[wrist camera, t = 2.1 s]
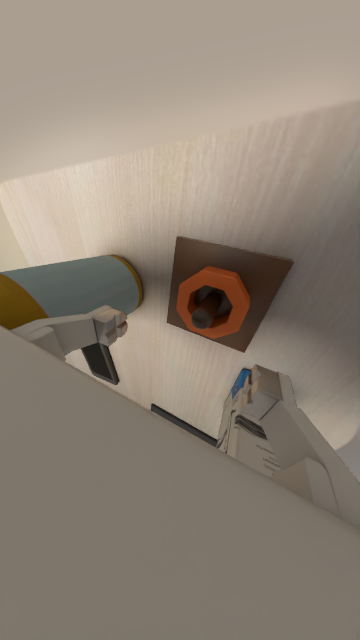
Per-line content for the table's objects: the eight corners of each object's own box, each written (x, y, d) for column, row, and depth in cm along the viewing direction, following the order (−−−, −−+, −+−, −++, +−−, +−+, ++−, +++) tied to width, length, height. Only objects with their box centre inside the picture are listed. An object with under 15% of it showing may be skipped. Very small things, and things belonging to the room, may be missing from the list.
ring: (259, 278, 12) (259, 284, 10) (233, 335, 15) (231, 346, 13) (190, 260, 13) (182, 264, 12) (180, 315, 16) (173, 324, 15)
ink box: (243, 366, 17) (224, 524, 8) (291, 385, 16) (338, 605, 7) (222, 405, 22) (196, 532, 13) (258, 422, 21) (258, 580, 11)
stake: (292, 259, 11) (313, 278, 7) (244, 348, 16) (240, 389, 12) (180, 236, 13) (144, 239, 9) (169, 319, 18) (143, 345, 14)
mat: (218, 441, 27) (218, 443, 27) (203, 461, 34) (203, 463, 33) (152, 403, 31) (151, 405, 30) (150, 427, 38) (149, 429, 37)
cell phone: (95, 372, 35) (92, 375, 34) (72, 321, 28) (68, 323, 28) (119, 383, 32) (117, 386, 32) (101, 329, 25) (97, 331, 25)
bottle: (118, 313, 22) (-46, 411, 10) (91, 265, 20) (-163, 319, 8) (154, 304, 18) (-36, 439, 6) (127, 244, 16) (-250, 283, 4)
